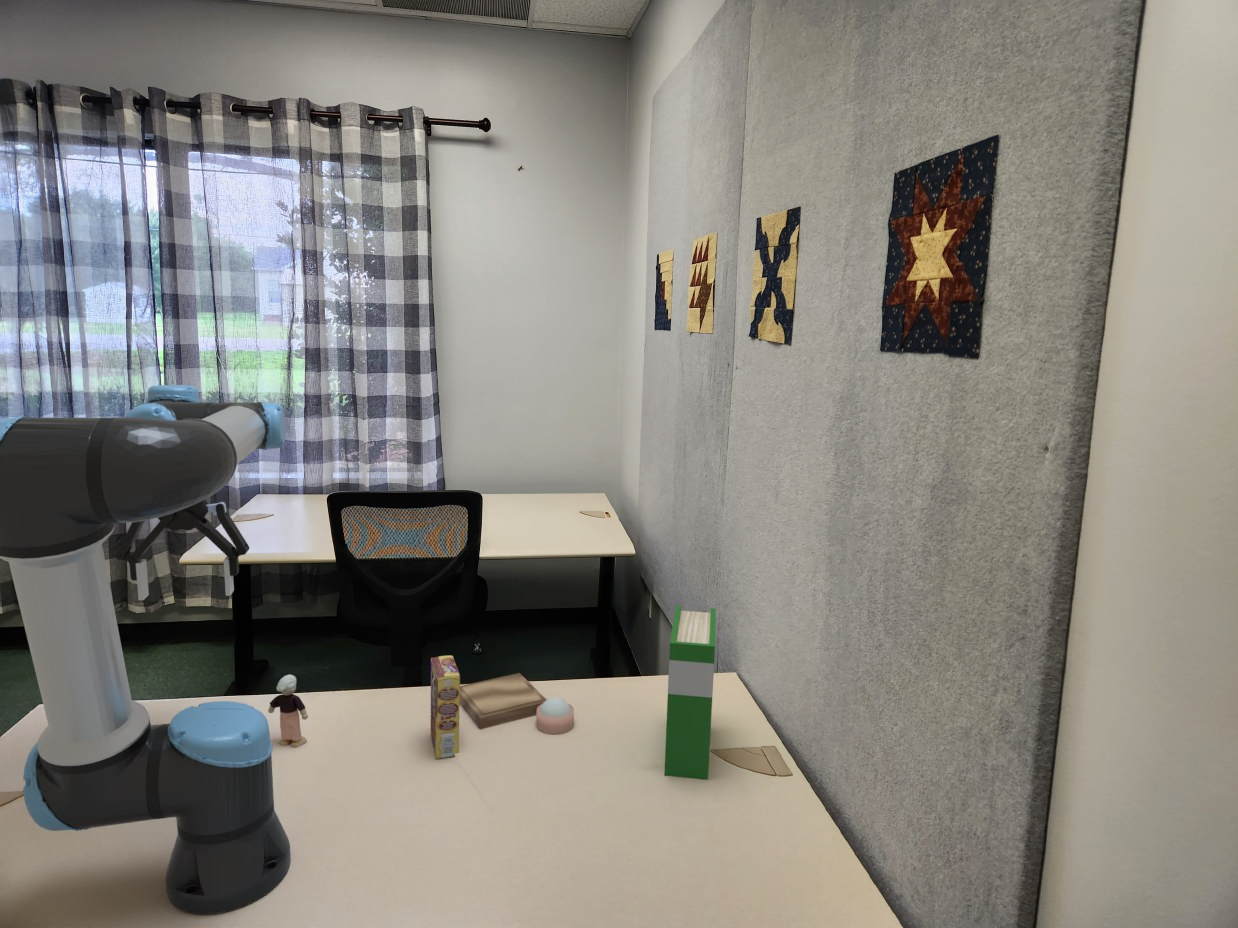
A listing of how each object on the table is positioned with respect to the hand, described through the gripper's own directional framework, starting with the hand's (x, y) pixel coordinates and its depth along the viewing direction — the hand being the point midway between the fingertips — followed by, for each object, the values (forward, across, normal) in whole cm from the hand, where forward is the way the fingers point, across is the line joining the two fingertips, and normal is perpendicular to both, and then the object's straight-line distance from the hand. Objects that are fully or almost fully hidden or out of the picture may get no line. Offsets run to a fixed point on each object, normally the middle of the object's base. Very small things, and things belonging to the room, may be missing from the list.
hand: (187, 595), depth 134 cm
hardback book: (+27, -86, +22) cm, 93 cm away
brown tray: (+27, -54, 0) cm, 61 cm away
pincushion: (+26, -64, +10) cm, 69 cm away
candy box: (+27, -43, +11) cm, 52 cm away
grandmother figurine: (+27, -16, +5) cm, 32 cm away
